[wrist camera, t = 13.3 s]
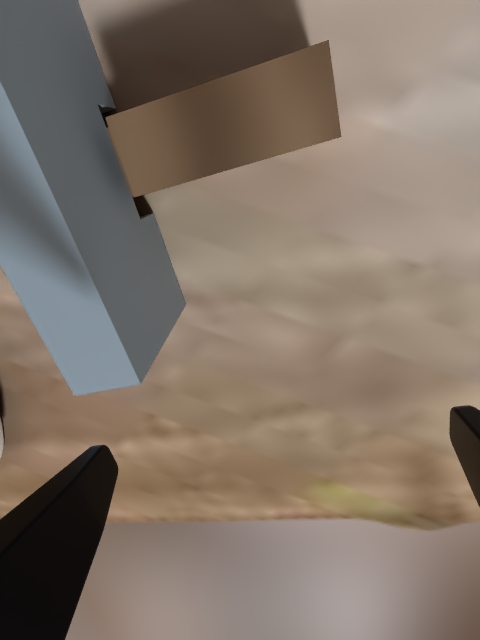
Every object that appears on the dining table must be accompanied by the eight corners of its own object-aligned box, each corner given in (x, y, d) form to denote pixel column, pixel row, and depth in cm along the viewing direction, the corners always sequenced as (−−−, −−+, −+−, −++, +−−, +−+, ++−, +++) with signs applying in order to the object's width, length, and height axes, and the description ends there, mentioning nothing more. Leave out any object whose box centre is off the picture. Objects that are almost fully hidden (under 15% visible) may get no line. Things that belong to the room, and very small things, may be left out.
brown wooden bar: (315, 66, 15) (328, 40, 12) (326, 140, 17) (341, 136, 13) (-79, 198, 19) (-158, 208, 16) (-47, 249, 21) (-114, 270, 17)
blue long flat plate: (63, -39, 14) (-143, -227, 7) (185, 304, 21) (140, 384, 14) (3, -12, 15) (-243, -162, 8) (140, 314, 21) (74, 395, 14)
